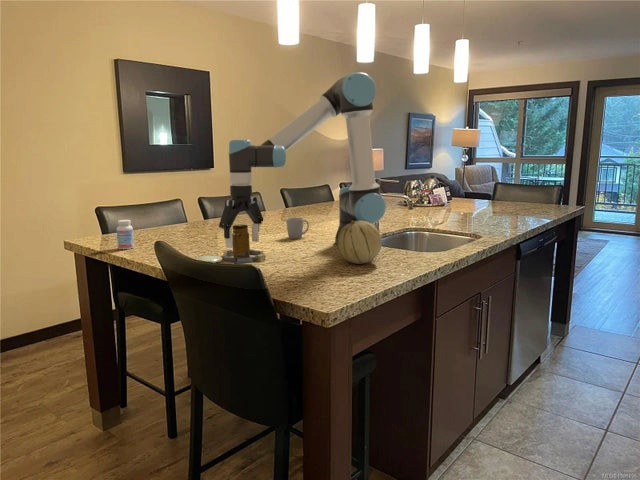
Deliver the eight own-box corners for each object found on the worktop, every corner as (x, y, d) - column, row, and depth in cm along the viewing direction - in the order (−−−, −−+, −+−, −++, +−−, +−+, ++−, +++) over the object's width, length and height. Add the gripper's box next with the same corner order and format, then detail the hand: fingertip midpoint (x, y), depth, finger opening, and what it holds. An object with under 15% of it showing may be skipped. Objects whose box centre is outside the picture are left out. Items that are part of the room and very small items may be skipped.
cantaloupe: (389, 262, 163) (390, 219, 160) (364, 270, 152) (364, 224, 149) (355, 256, 172) (355, 215, 170) (328, 263, 162) (328, 220, 159)
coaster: (228, 259, 169) (227, 258, 169) (206, 265, 161) (206, 263, 161) (208, 256, 174) (208, 254, 174) (186, 261, 166) (186, 260, 166)
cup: (284, 237, 212) (284, 217, 210) (306, 235, 215) (306, 216, 213) (288, 240, 204) (288, 220, 203) (311, 238, 207) (310, 219, 206)
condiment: (232, 256, 175) (231, 224, 172) (256, 255, 175) (255, 223, 173) (231, 260, 167) (229, 227, 165) (255, 260, 168) (254, 226, 166)
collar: (275, 257, 172) (275, 251, 172) (249, 265, 161) (249, 259, 160) (239, 251, 182) (238, 246, 182) (211, 258, 171) (211, 253, 170)
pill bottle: (117, 250, 186) (114, 222, 184) (119, 247, 192) (116, 219, 190) (133, 249, 188) (131, 221, 186) (135, 246, 194) (132, 219, 192)
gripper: (256, 182, 179) (257, 238, 183) (206, 186, 158) (209, 249, 162) (272, 183, 175) (273, 240, 179) (222, 187, 154) (225, 251, 158)
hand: (242, 244), depth 170 cm, fingers open, 13 cm apart
